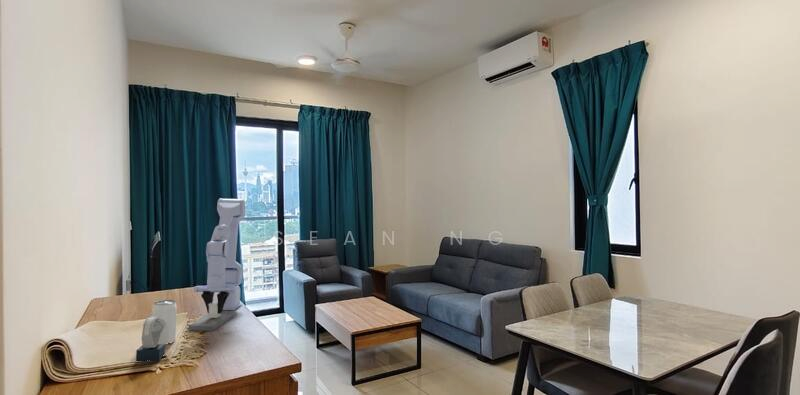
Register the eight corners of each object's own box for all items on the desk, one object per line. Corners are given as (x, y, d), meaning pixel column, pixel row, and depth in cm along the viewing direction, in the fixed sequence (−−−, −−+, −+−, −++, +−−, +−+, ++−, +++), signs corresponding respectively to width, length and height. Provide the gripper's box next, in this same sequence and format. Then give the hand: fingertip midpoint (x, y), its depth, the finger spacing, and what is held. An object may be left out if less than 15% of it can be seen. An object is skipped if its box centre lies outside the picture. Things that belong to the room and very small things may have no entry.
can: (180, 339, 126) (181, 300, 126) (166, 346, 120) (167, 305, 120) (160, 338, 127) (162, 299, 127) (145, 345, 120) (147, 304, 120)
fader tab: (213, 315, 148) (213, 301, 148) (221, 315, 148) (221, 301, 148) (207, 318, 144) (208, 303, 144) (216, 318, 144) (217, 304, 144)
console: (212, 315, 153) (213, 311, 153) (234, 316, 153) (234, 312, 153) (188, 330, 135) (188, 325, 135) (212, 330, 135) (212, 326, 135)
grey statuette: (167, 352, 115) (168, 313, 115) (156, 363, 107) (158, 321, 107) (144, 353, 113) (146, 313, 114) (132, 364, 106) (134, 322, 106)
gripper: (190, 275, 142) (188, 315, 142) (232, 276, 142) (230, 316, 142) (200, 272, 149) (198, 310, 149) (240, 273, 149) (238, 311, 149)
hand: (214, 312), depth 146 cm, fingers closed on fader tab, 3 cm apart
